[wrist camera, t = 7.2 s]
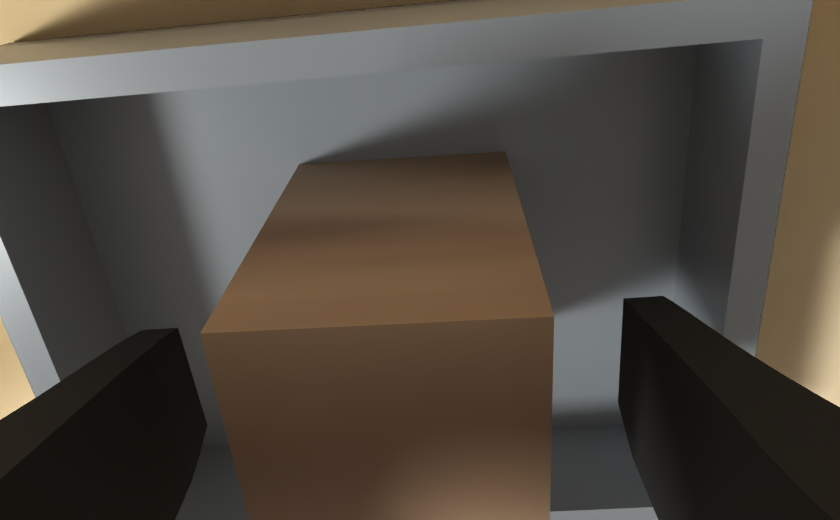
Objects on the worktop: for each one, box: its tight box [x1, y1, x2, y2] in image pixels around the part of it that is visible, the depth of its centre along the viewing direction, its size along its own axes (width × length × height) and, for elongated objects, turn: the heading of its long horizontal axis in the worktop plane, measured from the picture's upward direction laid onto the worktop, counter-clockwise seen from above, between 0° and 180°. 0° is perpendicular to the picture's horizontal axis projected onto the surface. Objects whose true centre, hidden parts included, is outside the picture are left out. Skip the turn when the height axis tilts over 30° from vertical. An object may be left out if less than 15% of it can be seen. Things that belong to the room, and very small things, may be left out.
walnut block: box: [200, 152, 554, 520], centre depth 11 cm, size 4×4×6 cm
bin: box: [0, 0, 813, 520], centre depth 13 cm, size 10×13×3 cm
